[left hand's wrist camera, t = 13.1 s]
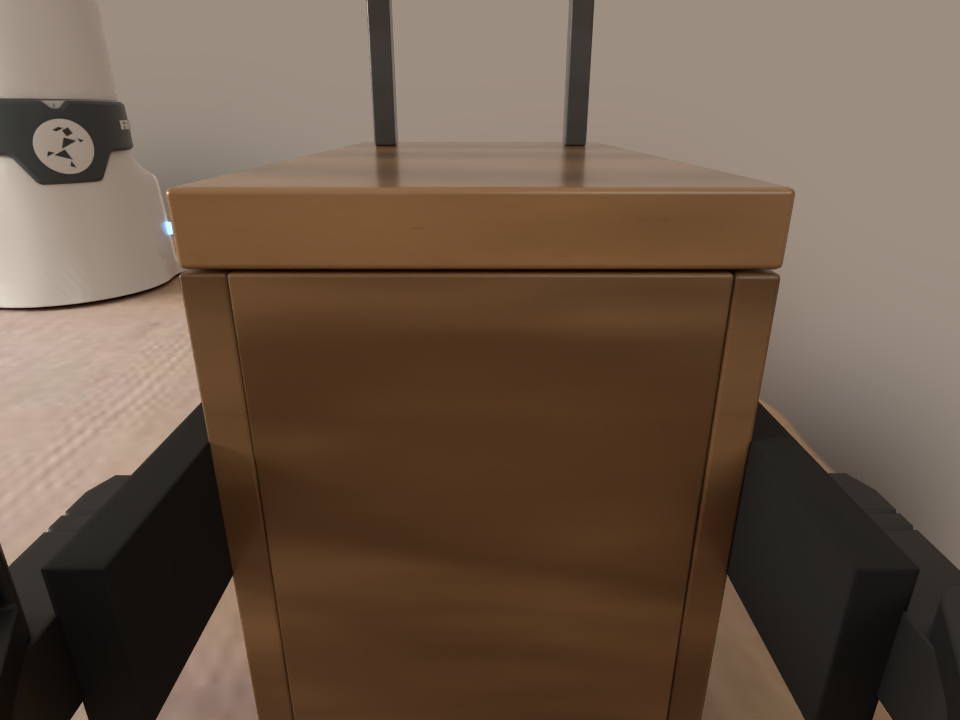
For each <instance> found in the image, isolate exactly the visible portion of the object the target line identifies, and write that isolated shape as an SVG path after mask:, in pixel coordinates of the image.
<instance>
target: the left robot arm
mask: <svg viewBox="0 0 960 720" xmlns="http://www.w3.org/2000/svg"><path fill="white" fill-rule="evenodd" d="M727 575H728V577H729V578H730V580H731V582H732V584H733V586H734V588H735V590H736V592H737V593H738V595H739V597H740V599H741V601H742V603H743V605H744V606H745V608H746V610H747V612H748V614H749V616H750V618H751V620H752V621H753V623H754V625H755V627H756V629H757V631H758V633H759V635H760V636H761V638H762V640H763V642H764V644H765V646H766V648H767V649H768V651H769V653H770V655H771V657H772V659H773V661H774V663H775V664H776V666H777V668H778V670H779V672H780V674H781V676H782V678H783V679H784V681H785V683H786V685H787V687H788V689H789V691H790V692H791V694H792V696H793V698H794V700H795V702H796V704H797V706H798V707H799V709H800V711H801V713H802V715H803V717H804V719H805V720H872V719H873V716H874V713H875V710H876V706H877V703H878V700H880V702H881V703H882V705H883V706H884V708H885V709H886V710H887V712H888V713H889V715H890V716H891V718H892V719H893V720H960V571H959V570H958V569H957V568H956V567H955V566H954V565H953V564H952V563H951V562H950V561H949V560H948V559H947V558H946V557H945V556H944V555H943V554H942V553H941V552H940V551H939V550H937V549H936V548H935V547H934V546H933V545H932V544H931V543H930V542H929V541H928V540H927V539H926V538H925V537H924V536H923V535H922V534H921V533H920V532H919V531H917V530H913V526H912V525H911V524H910V523H909V522H908V521H907V520H906V519H905V518H904V517H903V516H902V515H901V514H896V509H895V508H893V507H892V506H891V505H890V504H889V503H888V502H887V501H886V500H885V499H884V498H883V497H882V496H881V495H880V494H879V493H878V492H877V491H876V490H874V489H872V488H871V487H869V486H867V485H865V484H864V483H862V482H860V481H858V480H857V479H855V478H853V477H851V476H850V475H848V474H846V473H827V472H826V471H825V470H824V469H823V468H822V467H821V466H820V465H819V464H818V463H817V462H816V461H815V460H814V459H813V458H812V457H811V455H810V454H809V453H808V452H807V451H806V450H805V449H804V448H803V447H802V446H801V445H800V444H799V443H798V442H797V441H796V440H795V439H794V438H793V437H792V436H791V435H790V434H789V433H788V432H787V431H786V430H785V429H784V427H783V426H782V425H781V424H780V423H779V422H778V421H777V420H776V419H775V418H774V417H773V416H772V415H771V414H770V413H769V412H768V411H767V410H766V409H765V408H764V407H763V406H762V405H761V404H760V403H759V402H758V405H757V411H756V416H755V422H754V428H753V433H752V439H751V444H750V449H749V455H748V461H747V466H746V472H745V477H744V483H743V488H742V494H741V500H740V505H739V511H738V516H737V522H736V527H735V533H734V538H733V544H732V550H731V555H730V561H729V566H728V572H727ZM232 576H233V570H232V565H231V559H230V553H229V548H228V542H227V537H226V531H225V525H224V520H223V514H222V509H221V503H220V498H219V492H218V486H217V481H216V475H215V470H214V464H213V459H212V453H211V447H210V442H209V440H208V434H207V429H206V423H205V417H204V412H203V406H202V402H201V403H200V404H199V405H198V406H197V407H196V409H195V410H194V411H193V412H192V413H191V414H190V415H189V416H188V417H187V418H186V419H185V420H184V421H183V422H182V423H181V424H180V425H179V426H178V427H177V428H176V429H175V430H174V431H173V432H172V433H171V434H170V436H169V437H168V438H167V439H166V440H165V441H164V442H163V443H162V444H161V445H160V446H159V447H158V448H157V449H156V450H155V451H154V452H153V453H152V454H151V455H150V456H149V457H148V458H147V459H146V460H145V461H144V462H143V464H142V465H141V466H140V467H139V468H138V469H137V470H136V471H135V472H134V473H133V474H132V475H115V476H114V477H112V478H110V479H108V480H107V481H105V482H103V483H101V484H100V485H98V486H96V487H94V488H93V489H91V490H89V491H87V492H86V493H85V494H84V495H83V496H82V497H81V498H80V499H78V500H77V501H76V502H75V503H74V504H73V505H72V506H71V507H70V508H69V509H68V510H67V511H66V515H65V516H61V517H60V518H59V519H58V520H57V521H56V522H55V523H54V524H52V525H51V526H50V527H49V531H48V532H44V533H43V534H42V535H41V536H40V537H39V538H38V539H37V540H36V541H35V542H34V543H33V544H32V545H31V546H30V547H29V548H28V549H26V550H25V551H24V552H23V553H22V554H21V555H20V556H19V557H18V558H17V559H16V560H15V561H14V562H13V563H12V564H11V565H10V566H9V567H8V565H7V562H6V559H5V556H4V553H3V550H2V547H1V544H0V720H70V719H71V718H72V716H73V715H74V713H75V712H76V710H77V709H78V708H79V706H80V705H81V703H82V702H83V704H84V707H85V710H86V713H87V716H88V719H89V720H156V718H157V716H158V714H159V712H160V711H161V709H162V707H163V705H164V703H165V701H166V699H167V698H168V696H169V694H170V692H171V690H172V688H173V686H174V684H175V683H176V681H177V679H178V677H179V675H180V673H181V671H182V669H183V668H184V666H185V664H186V662H187V660H188V658H189V656H190V655H191V653H192V651H193V649H194V647H195V645H196V643H197V641H198V640H199V638H200V636H201V634H202V632H203V630H204V628H205V626H206V625H207V623H208V621H209V619H210V617H211V615H212V613H213V611H214V610H215V608H216V606H217V604H218V602H219V600H220V598H221V597H222V595H223V593H224V591H225V589H226V587H227V585H228V583H229V582H230V580H231V578H232Z"/></svg>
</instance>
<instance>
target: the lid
mask: <svg viewBox="0 0 960 720" xmlns="http://www.w3.org/2000/svg"><path fill="white" fill-rule="evenodd" d="M366 1H367V19H368V36H369V53H370V71H371V88H372V105H373V122H374V140H375V142H364V143H360V144H356V145H352V146H347V147H343V148H338V149H334V150H330V151H325V152H321V153H317V154H313V155H308V156H304V157H300V158H295V159H291V160H287V161H282V162H278V163H274V164H270V165H266V166H261V167H257V168H252V169H248V170H244V171H239V172H235V173H231V174H227V175H222V176H218V177H214V178H210V179H205V180H201V181H196V182H192V183H188V184H183V185H179V186H175V187H171V188H169V189H167V192H166V197H167V203H168V208H169V214H170V220H171V225H172V231H173V236H174V242H175V248H176V253H177V259H178V264H179V266H180V267H181V268H184V269H777V268H780V267H781V266H782V264H783V259H784V253H785V248H786V242H787V236H788V231H789V225H790V220H791V214H792V208H793V203H794V197H795V193H794V190H793V189H791V188H789V187H785V186H781V185H777V184H772V183H768V182H764V181H760V180H755V179H751V178H747V177H742V176H738V175H734V174H729V173H725V172H721V171H717V170H712V169H708V168H703V167H700V166H695V165H691V164H687V163H682V162H678V161H674V160H669V159H665V158H661V157H657V156H652V155H648V154H644V153H639V152H635V151H631V150H626V149H622V148H618V147H614V146H609V145H605V144H600V143H596V142H586V133H587V116H588V99H589V82H590V65H591V48H592V31H593V14H594V0H569V16H568V38H567V60H566V82H565V103H564V126H563V142H398V133H397V111H396V89H395V67H394V44H393V22H392V0H366Z"/></svg>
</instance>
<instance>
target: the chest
mask: <svg viewBox="0 0 960 720" xmlns="http://www.w3.org/2000/svg"><path fill="white" fill-rule="evenodd" d="M179 278H180V284H181V289H182V295H183V300H184V306H185V312H186V317H187V323H188V328H189V334H190V339H191V345H192V351H193V356H194V362H195V367H196V373H197V378H198V384H199V390H200V395H201V401H202V406H203V412H204V417H205V423H206V429H207V434H208V440H209V442H210V447H211V453H212V459H213V464H214V470H215V475H216V481H217V486H218V492H219V498H220V503H221V509H222V514H223V520H224V525H225V531H226V537H227V542H228V548H229V553H230V559H231V565H232V570H233V579H234V585H235V590H236V596H237V601H238V607H239V612H240V618H241V624H242V629H243V635H244V640H245V646H246V651H247V657H248V663H249V668H250V674H251V679H252V685H253V691H254V696H255V702H256V707H257V713H258V718H259V720H701V717H702V711H703V706H704V700H705V695H706V689H707V683H708V678H709V672H710V667H711V661H712V656H713V650H714V645H715V639H716V633H717V628H718V622H719V617H720V611H721V606H722V600H723V594H724V589H725V583H726V578H727V572H728V566H729V561H730V555H731V550H732V544H733V538H734V533H735V527H736V522H737V516H738V511H739V505H740V500H741V494H742V488H743V483H744V477H745V472H746V466H747V461H748V455H749V449H750V444H751V439H752V433H753V428H754V422H755V416H756V411H757V405H758V400H759V394H760V389H761V383H762V377H763V371H764V366H765V361H766V355H767V350H768V344H769V339H770V333H771V327H772V322H773V316H774V311H775V305H776V300H777V294H778V288H779V283H780V276H779V274H777V273H775V272H773V271H771V270H769V269H189V270H187V271H185V272H183V273H182V274H180V276H179Z"/></svg>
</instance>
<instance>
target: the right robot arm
mask: <svg viewBox="0 0 960 720" xmlns="http://www.w3.org/2000/svg"><path fill="white" fill-rule="evenodd" d="M106 101H117V95H116V90H115V85H114V80H113V75H112V70H111V65H110V60H109V55H108V50H107V45H106V40H105V35H104V30H103V25H102V19H101V15H100V9H99V5H98V3H97V1H96V0H0V308H31V307H48V306H59V305H69V304H77V303H85V302H92V301H98V300H104V299H109V298H115V297H120V296H124V295H128V294H133V293H137V292H140V291H144V290H147V289H150V288H153V287H156V286H159V285H161V284H163V283H165V282H167V281H169V280H170V279H171V278H173V277H174V276H175V275H177V274H179V273H182V272H184V271H187V270H189V269H184V268H181V267H180V266H179V264H178V259H177V253H176V252H175V248H174V244H173V240H172V235H171V234H173V232H172V226H171V222H168V219H167V215H166V211H165V207H164V203H163V199H162V195H161V191H160V187H159V183H158V180H157V178H156V177H155V176H154V175H153V174H151V173H150V172H149V171H148V170H146V169H144V168H143V167H141V166H140V165H139V164H138V163H137V162H136V161H135V159H134V158H133V156H132V155H131V153H130V151H129V150H130V149H131V148H132V147H133V143H132V138H131V133H130V129H131V126H130V122H129V120H128V119H127V115H126V111H125V107H124V105H123V104H122V103H121V102H106Z"/></svg>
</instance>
